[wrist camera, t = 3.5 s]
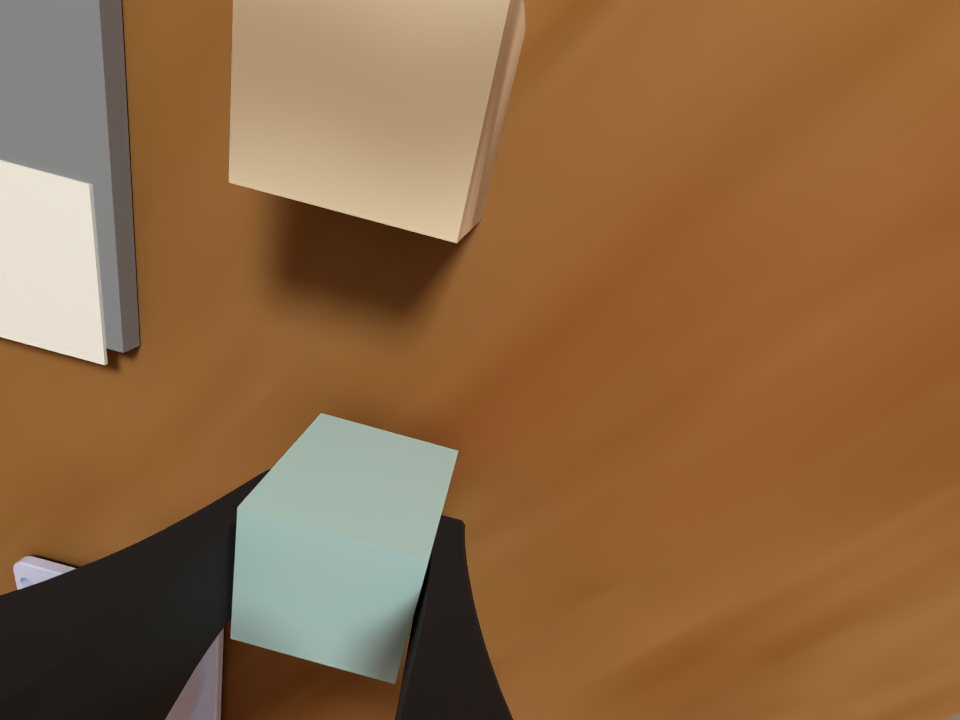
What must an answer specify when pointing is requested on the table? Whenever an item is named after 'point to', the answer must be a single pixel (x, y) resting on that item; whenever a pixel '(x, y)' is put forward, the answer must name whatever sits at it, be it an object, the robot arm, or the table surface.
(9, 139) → the slate board
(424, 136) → the maple cube
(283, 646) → the teal cube
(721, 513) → the table surface
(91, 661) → the robot arm
